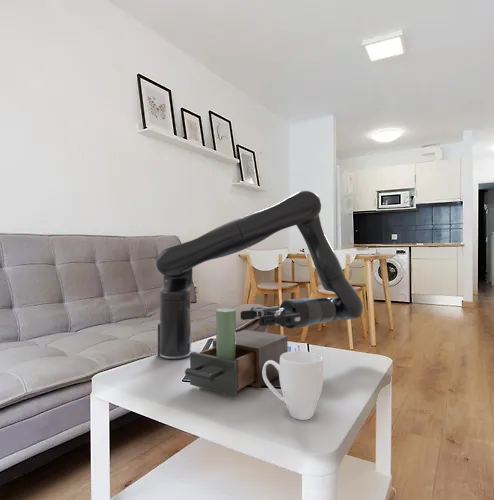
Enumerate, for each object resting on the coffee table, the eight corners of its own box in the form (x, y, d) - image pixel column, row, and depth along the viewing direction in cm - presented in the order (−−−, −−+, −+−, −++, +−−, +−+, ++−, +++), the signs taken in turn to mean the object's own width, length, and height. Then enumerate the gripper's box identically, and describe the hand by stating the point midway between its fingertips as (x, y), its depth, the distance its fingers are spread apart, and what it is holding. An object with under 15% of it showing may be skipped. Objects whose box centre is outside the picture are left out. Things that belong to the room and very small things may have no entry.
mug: (325, 409, 73) (325, 353, 73) (319, 428, 66) (319, 365, 66) (268, 400, 78) (268, 347, 78) (256, 417, 70) (256, 358, 70)
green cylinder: (212, 378, 85) (212, 310, 85) (224, 373, 89) (223, 307, 89) (228, 382, 82) (228, 312, 82) (239, 377, 86) (239, 309, 86)
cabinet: (259, 388, 85) (259, 348, 85) (212, 376, 92) (212, 340, 92) (287, 370, 97) (287, 335, 97) (244, 361, 105) (244, 329, 105)
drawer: (220, 404, 73) (220, 368, 73) (175, 391, 80) (175, 357, 80) (266, 378, 89) (266, 347, 89) (224, 368, 96) (224, 340, 96)
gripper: (284, 295, 103) (235, 299, 95) (319, 301, 91) (267, 307, 83) (284, 321, 103) (235, 328, 95) (319, 331, 91) (267, 339, 83)
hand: (250, 318), depth 89 cm, fingers open, 8 cm apart
